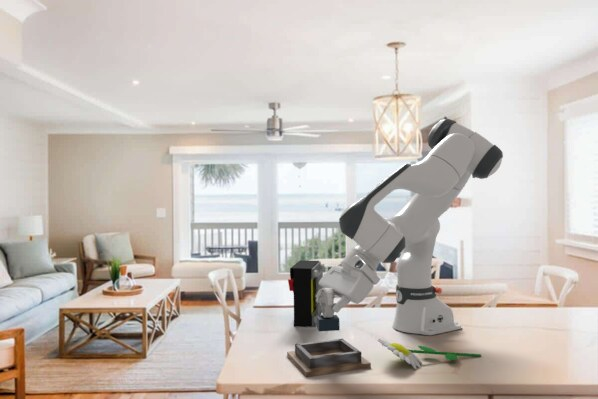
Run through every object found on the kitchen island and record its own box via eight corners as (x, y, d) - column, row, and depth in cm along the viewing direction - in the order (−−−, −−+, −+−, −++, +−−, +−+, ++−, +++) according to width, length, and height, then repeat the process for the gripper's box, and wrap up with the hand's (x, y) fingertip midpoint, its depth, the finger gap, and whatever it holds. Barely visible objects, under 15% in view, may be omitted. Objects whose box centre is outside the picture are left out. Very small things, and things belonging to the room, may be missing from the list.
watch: (335, 324, 136) (334, 284, 136) (340, 332, 128) (340, 290, 128) (315, 325, 136) (314, 285, 135) (319, 333, 128) (319, 291, 127)
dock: (345, 348, 143) (345, 336, 143) (370, 367, 128) (370, 353, 128) (287, 356, 137) (286, 343, 137) (306, 376, 122) (305, 362, 122)
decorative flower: (466, 356, 142) (369, 350, 136) (469, 340, 141) (371, 333, 136) (491, 375, 129) (385, 369, 124) (494, 358, 129) (388, 351, 123)
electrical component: (318, 327, 165) (317, 268, 164) (288, 326, 167) (287, 268, 166) (325, 314, 182) (325, 260, 181) (298, 313, 184) (298, 260, 183)
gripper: (332, 255, 144) (302, 292, 140) (368, 265, 125) (335, 307, 121) (346, 269, 146) (317, 305, 142) (383, 281, 127) (351, 323, 123)
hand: (325, 306), depth 132 cm, fingers closed on watch, 8 cm apart
